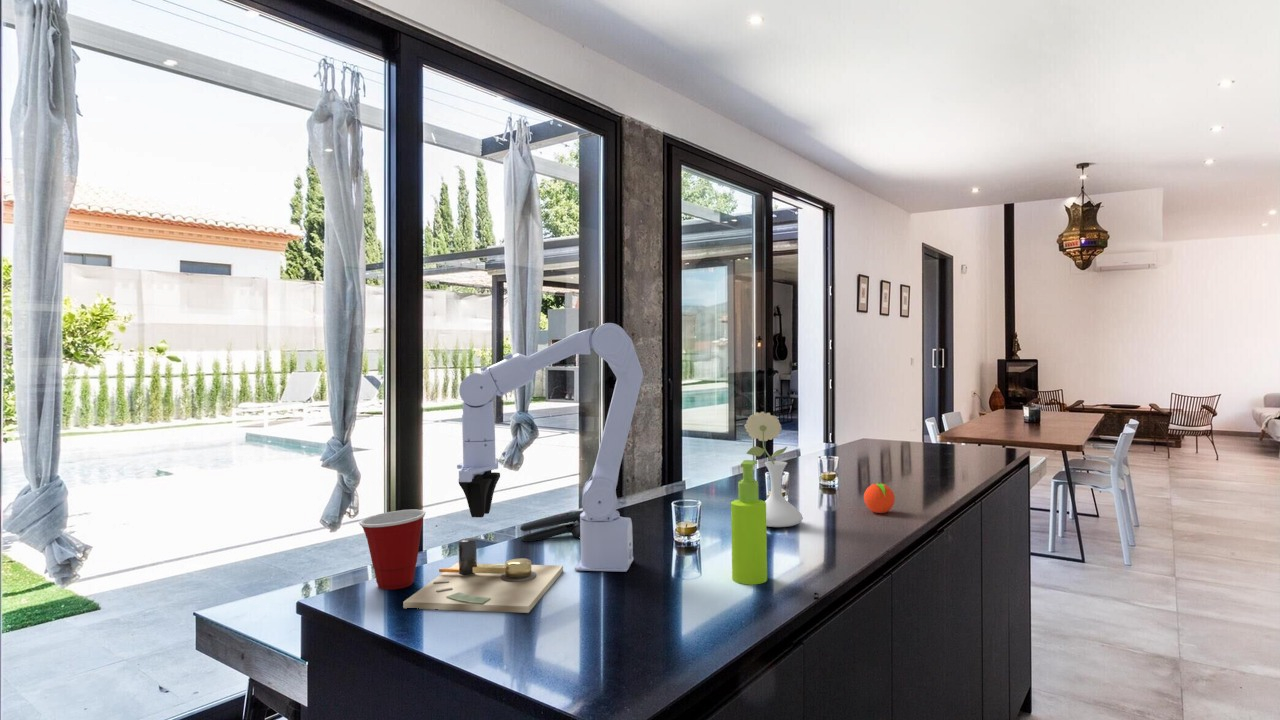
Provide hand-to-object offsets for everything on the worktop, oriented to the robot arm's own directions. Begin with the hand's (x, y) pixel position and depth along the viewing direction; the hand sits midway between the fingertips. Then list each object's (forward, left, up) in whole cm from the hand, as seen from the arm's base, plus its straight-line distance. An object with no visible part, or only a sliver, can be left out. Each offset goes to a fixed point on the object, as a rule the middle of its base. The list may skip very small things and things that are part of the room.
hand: (480, 515), depth 135 cm
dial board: (-5, +10, -10) cm, 15 cm away
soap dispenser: (-48, 0, -10) cm, 49 cm away
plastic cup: (+12, +9, -10) cm, 18 cm away
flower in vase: (-53, -39, -10) cm, 66 cm away
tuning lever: (-3, +6, -8) cm, 11 cm away
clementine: (-78, -52, -10) cm, 94 cm away
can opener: (-9, -24, -10) cm, 28 cm away
